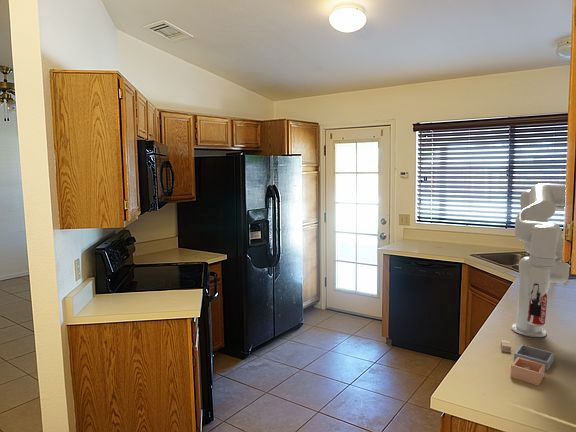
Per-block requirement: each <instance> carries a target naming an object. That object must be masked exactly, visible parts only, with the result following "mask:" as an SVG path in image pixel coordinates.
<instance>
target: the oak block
mask: <svg viewBox="0 0 576 432" xmlns="http://www.w3.org/2000/svg"><path fill="white" fill-rule="evenodd" d="M511 349H512V345H511V341H509V340H504V339H501V340H500V351H501V352H507V353H509V354H511Z"/></svg>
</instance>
